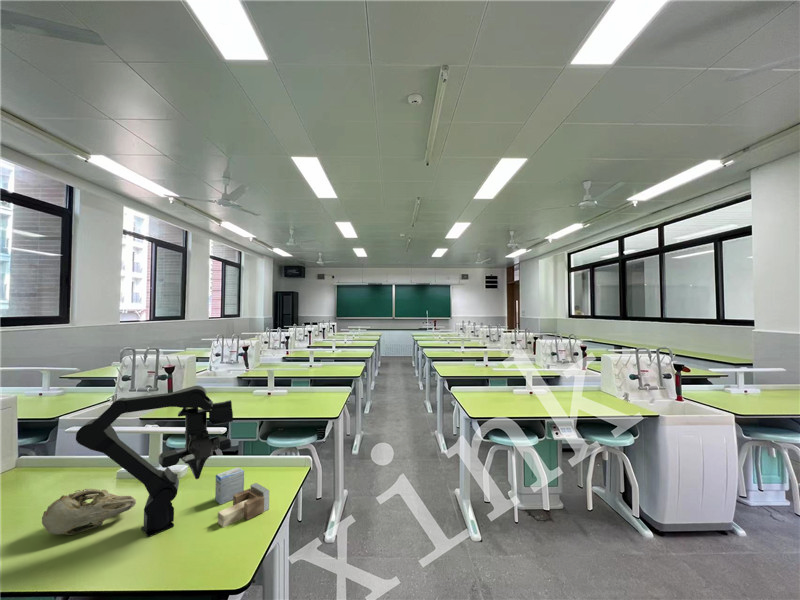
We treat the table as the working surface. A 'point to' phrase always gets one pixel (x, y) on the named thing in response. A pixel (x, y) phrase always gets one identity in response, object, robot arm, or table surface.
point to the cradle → (250, 502)
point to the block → (231, 514)
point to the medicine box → (229, 485)
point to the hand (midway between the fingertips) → (197, 478)
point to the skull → (83, 510)
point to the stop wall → (263, 492)
